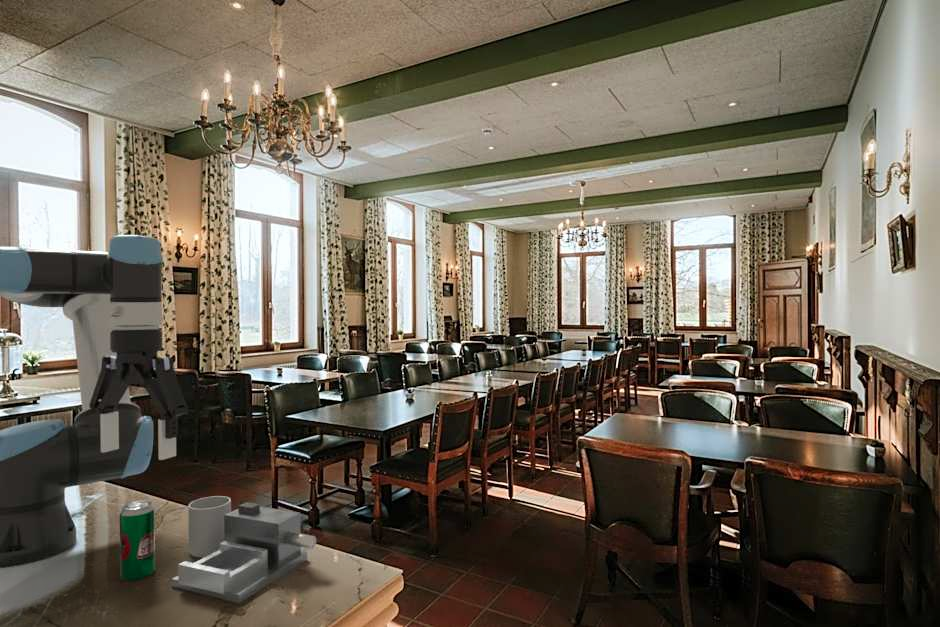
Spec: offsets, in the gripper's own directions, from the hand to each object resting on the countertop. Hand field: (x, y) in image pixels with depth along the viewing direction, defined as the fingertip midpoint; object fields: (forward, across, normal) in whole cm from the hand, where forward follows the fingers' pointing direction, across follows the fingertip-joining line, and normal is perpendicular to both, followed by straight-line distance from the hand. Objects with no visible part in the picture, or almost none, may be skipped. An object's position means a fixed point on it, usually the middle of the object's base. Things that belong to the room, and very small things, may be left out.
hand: (138, 454), depth 93 cm
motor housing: (+20, +16, +7) cm, 27 cm away
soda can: (+21, 0, 0) cm, 21 cm away
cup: (+21, +2, +12) cm, 24 cm away
